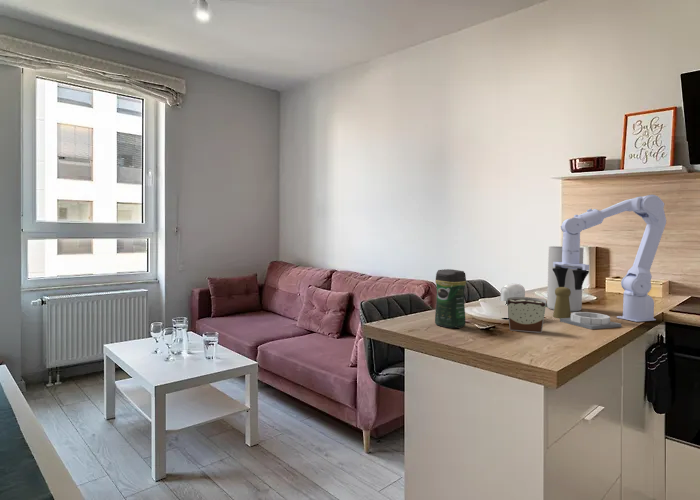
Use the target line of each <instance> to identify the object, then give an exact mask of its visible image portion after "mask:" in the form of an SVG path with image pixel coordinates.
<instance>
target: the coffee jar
mask: <svg viewBox="0 0 700 500" xmlns="http://www.w3.org/2000/svg"><path fill="white" fill-rule="evenodd" d="M466 276H467V274H466V272H465V271H464V270H459V269H458V270H457V269H451V268H447V269H446V268H445V269H438V270H437V272H436V273H435V286H436V304H435V315H434V323H435V325H437V326H440V327H444V328H457V329H460V328H463V327H464V326H466V309H465V305H466V304H465V288H466V284H467V277H466Z"/></svg>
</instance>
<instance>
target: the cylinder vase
mask: <svg viewBox="0 0 700 500" xmlns="http://www.w3.org/2000/svg"><path fill="white" fill-rule="evenodd" d="M584 249H585V248H584V247H581V246H580V258H579V263H580V264H584ZM547 260H548V261H547V294H546V296H547V297H546V303H547V306H548V308H547V309H548V310H549V309H550V310H552V311H554V308H555V302H556V294H555V289H556V288H558V287H559V286H558V282H557V278H556V275H555V273H554V272H553V268H556V267H553V262H562V246H548V259H547ZM566 267H573V266H566ZM575 268H576V267H575ZM572 270H577V269H571V268H568V271H567V273H566V278H565V286H564V287H566V288H569V289H570V291H571V294H570V296H569V302H570V311H571V313H573V312H581V310H582V306H583V305H582V304H583V287H582V288H581V290H575V279H574V274H573V271H572Z"/></svg>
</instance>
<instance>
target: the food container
mask: <svg viewBox="0 0 700 500" xmlns="http://www.w3.org/2000/svg"><path fill="white" fill-rule="evenodd" d="M506 304H507V306H508V318H509V319H508V324H509V325H508V326H509V331H512V332H526V333H538V334H539V333H541V334H542V333H543V327H544V320H545V313H546V308H547V309H549V308H548V306H547V299H544V298H537V297H529V296H525V297H510V298H507V300H506ZM506 304H505V305H506Z"/></svg>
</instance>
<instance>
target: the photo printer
mask: <svg viewBox="0 0 700 500" xmlns="http://www.w3.org/2000/svg"><path fill="white" fill-rule="evenodd" d="M510 297H526V290H525V287H524V286H523V285H521V284H520V283H508V284H506V285H504V286H502V287H501V289H500V299H499V300H500V301H506V300H507V298H510ZM500 301H499V302H500Z"/></svg>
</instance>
